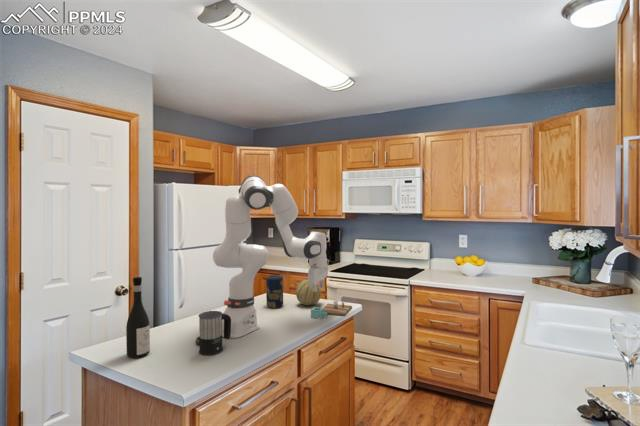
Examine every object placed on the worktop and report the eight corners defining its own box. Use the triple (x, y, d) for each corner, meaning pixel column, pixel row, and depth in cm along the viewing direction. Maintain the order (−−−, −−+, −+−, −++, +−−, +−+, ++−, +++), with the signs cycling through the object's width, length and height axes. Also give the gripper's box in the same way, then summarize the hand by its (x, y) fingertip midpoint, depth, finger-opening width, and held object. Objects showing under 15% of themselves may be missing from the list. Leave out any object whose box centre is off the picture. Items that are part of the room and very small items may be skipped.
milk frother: (213, 357, 141) (212, 318, 140) (179, 351, 146) (179, 314, 146) (234, 344, 154) (234, 308, 154) (203, 339, 160) (202, 305, 159)
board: (344, 316, 192) (344, 306, 191) (318, 313, 196) (318, 304, 196) (351, 307, 207) (351, 299, 206) (327, 305, 211) (327, 297, 211)
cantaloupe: (303, 300, 223) (303, 275, 222) (325, 303, 216) (325, 277, 216) (291, 306, 209) (291, 280, 209) (314, 309, 203) (314, 282, 203)
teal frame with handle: (310, 317, 189) (310, 309, 189) (314, 314, 194) (314, 307, 194) (325, 319, 187) (325, 311, 187) (328, 316, 192) (328, 308, 192)
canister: (280, 309, 204) (280, 276, 204) (263, 308, 206) (263, 276, 206) (285, 304, 214) (285, 273, 213) (269, 303, 215) (269, 272, 215)
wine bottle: (154, 351, 146) (153, 275, 145) (141, 359, 138) (140, 280, 138) (135, 350, 148) (134, 275, 147) (122, 358, 140) (120, 279, 139)
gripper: (316, 266, 179) (316, 295, 180) (330, 259, 198) (330, 285, 199) (304, 265, 181) (304, 293, 182) (318, 259, 200) (318, 284, 201)
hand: (317, 289), depth 190 cm, fingers open, 8 cm apart
